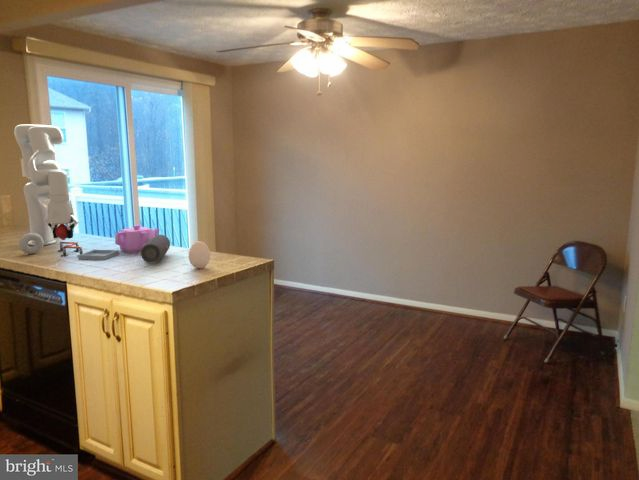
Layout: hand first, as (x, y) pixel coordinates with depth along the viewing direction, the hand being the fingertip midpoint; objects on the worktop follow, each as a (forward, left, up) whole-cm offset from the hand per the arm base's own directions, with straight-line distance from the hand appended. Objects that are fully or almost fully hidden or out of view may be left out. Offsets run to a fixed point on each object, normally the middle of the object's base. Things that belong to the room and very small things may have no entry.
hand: (63, 237), depth 211 cm
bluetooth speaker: (+3, +45, -9) cm, 46 cm away
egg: (+16, +69, -9) cm, 72 cm away
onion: (0, 0, -1) cm, 1 cm away
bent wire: (-5, 0, -8) cm, 10 cm away
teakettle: (-17, +27, -9) cm, 33 cm away
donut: (-2, -17, -9) cm, 19 cm away
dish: (0, +17, -8) cm, 19 cm away
